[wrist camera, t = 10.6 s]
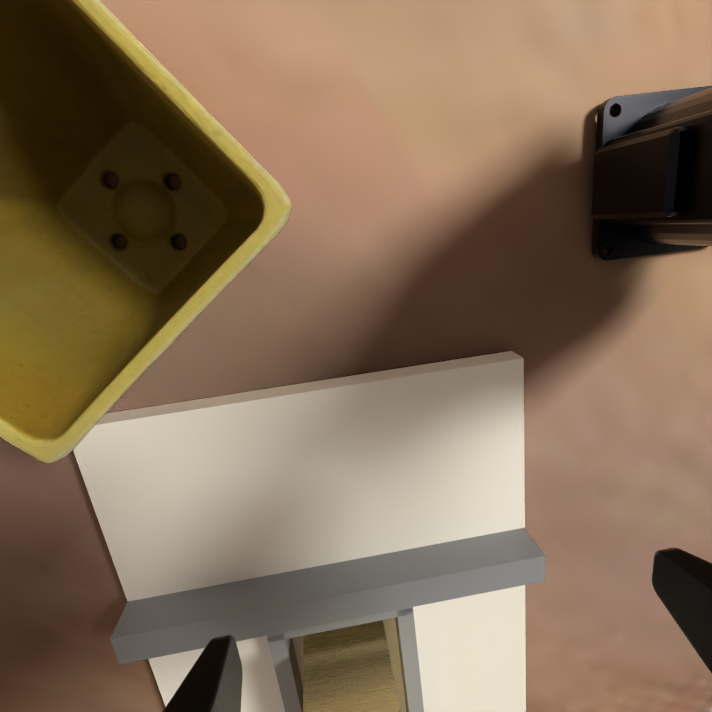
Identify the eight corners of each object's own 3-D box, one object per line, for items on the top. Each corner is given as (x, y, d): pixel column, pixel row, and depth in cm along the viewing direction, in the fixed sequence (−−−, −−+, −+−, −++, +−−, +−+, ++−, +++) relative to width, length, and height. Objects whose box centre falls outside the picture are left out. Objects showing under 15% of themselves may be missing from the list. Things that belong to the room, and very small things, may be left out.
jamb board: (511, 350, 20) (547, 372, 17) (516, 694, 27) (543, 752, 24) (79, 417, 19) (37, 453, 16) (199, 762, 26) (185, 833, 23)
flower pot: (164, 363, 19) (46, 476, 10) (-23, 213, 16) (-381, 197, 8) (303, 217, 18) (302, 207, 9) (126, 33, 15) (-102, -215, 7)
